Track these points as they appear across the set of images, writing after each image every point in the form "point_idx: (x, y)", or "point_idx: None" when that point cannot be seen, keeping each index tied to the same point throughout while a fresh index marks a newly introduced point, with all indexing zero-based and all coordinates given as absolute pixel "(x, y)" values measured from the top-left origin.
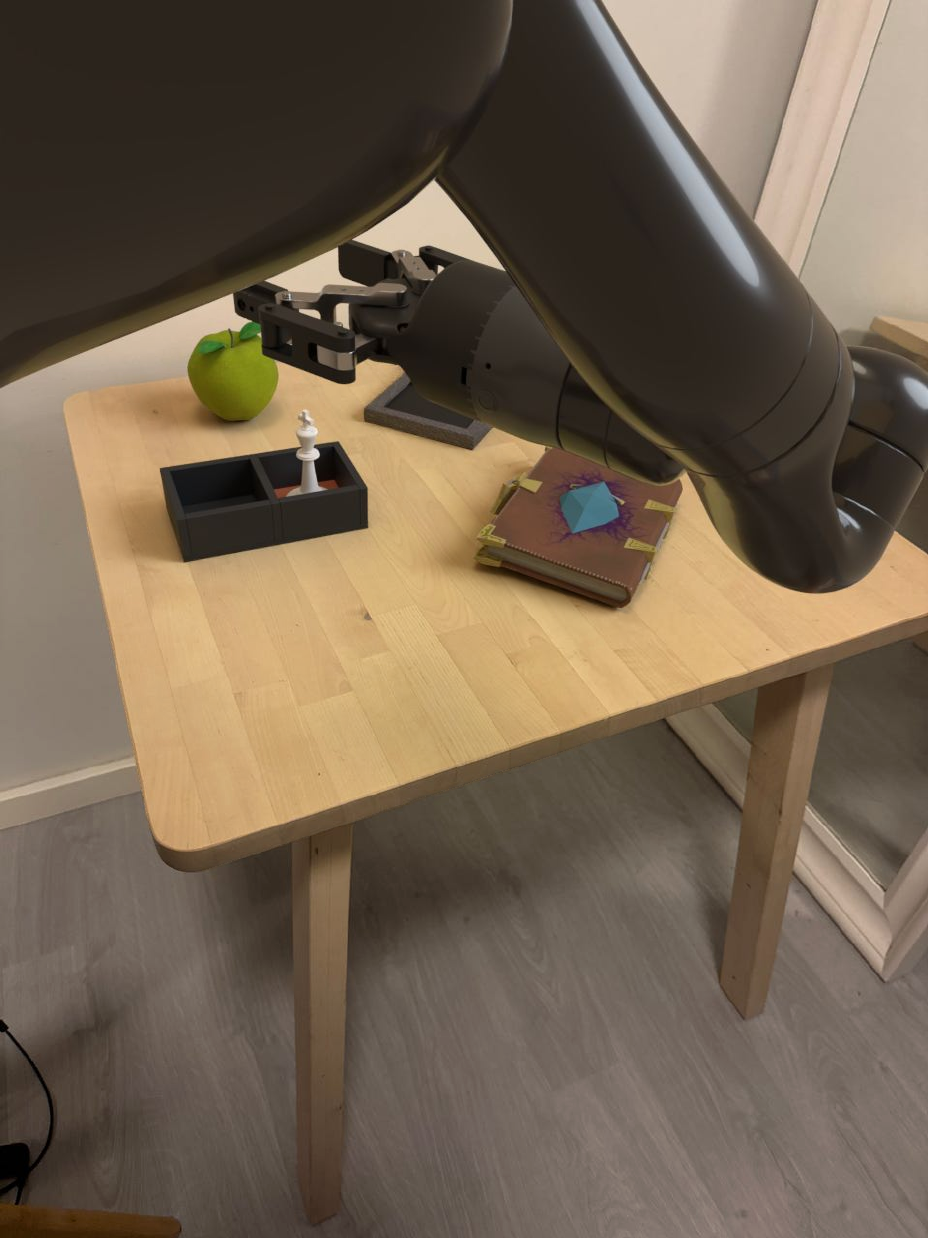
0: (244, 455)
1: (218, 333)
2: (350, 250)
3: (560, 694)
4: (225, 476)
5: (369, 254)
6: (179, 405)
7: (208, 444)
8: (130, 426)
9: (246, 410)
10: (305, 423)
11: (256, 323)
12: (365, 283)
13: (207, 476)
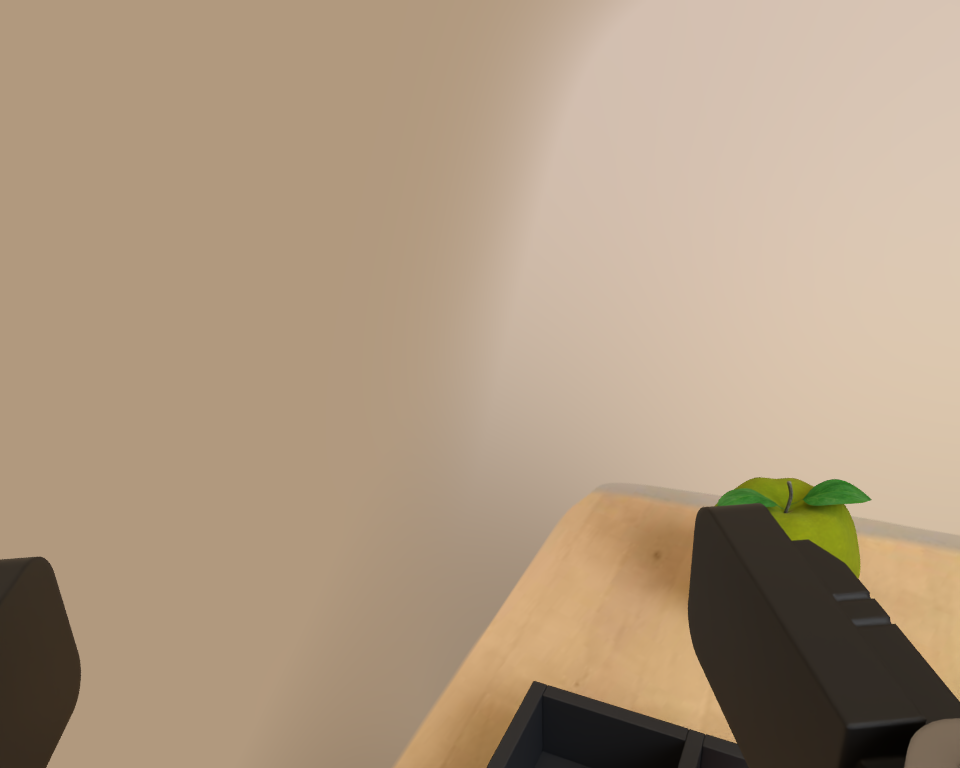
0: (681, 727)
1: (777, 481)
2: (726, 567)
3: None
4: (634, 747)
5: (782, 653)
6: None
7: (687, 645)
8: (607, 564)
9: None
10: None
11: (845, 485)
12: (748, 763)
13: (602, 732)
